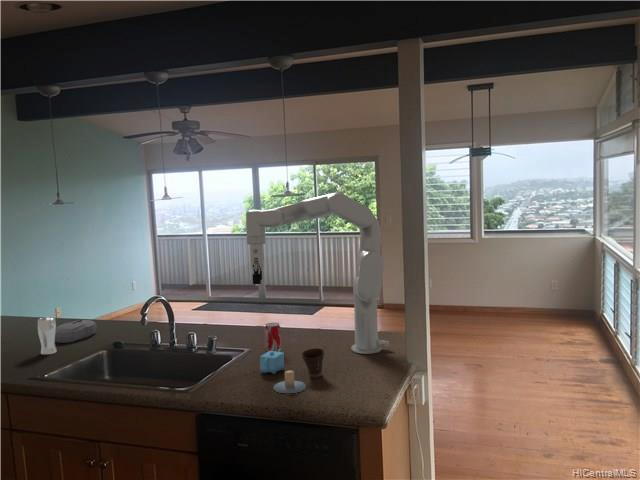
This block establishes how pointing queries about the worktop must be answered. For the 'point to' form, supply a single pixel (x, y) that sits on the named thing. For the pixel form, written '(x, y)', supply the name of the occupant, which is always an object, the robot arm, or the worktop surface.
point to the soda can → (272, 337)
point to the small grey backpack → (75, 330)
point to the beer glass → (47, 335)
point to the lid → (289, 384)
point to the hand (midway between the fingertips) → (257, 282)
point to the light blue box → (272, 361)
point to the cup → (314, 361)
